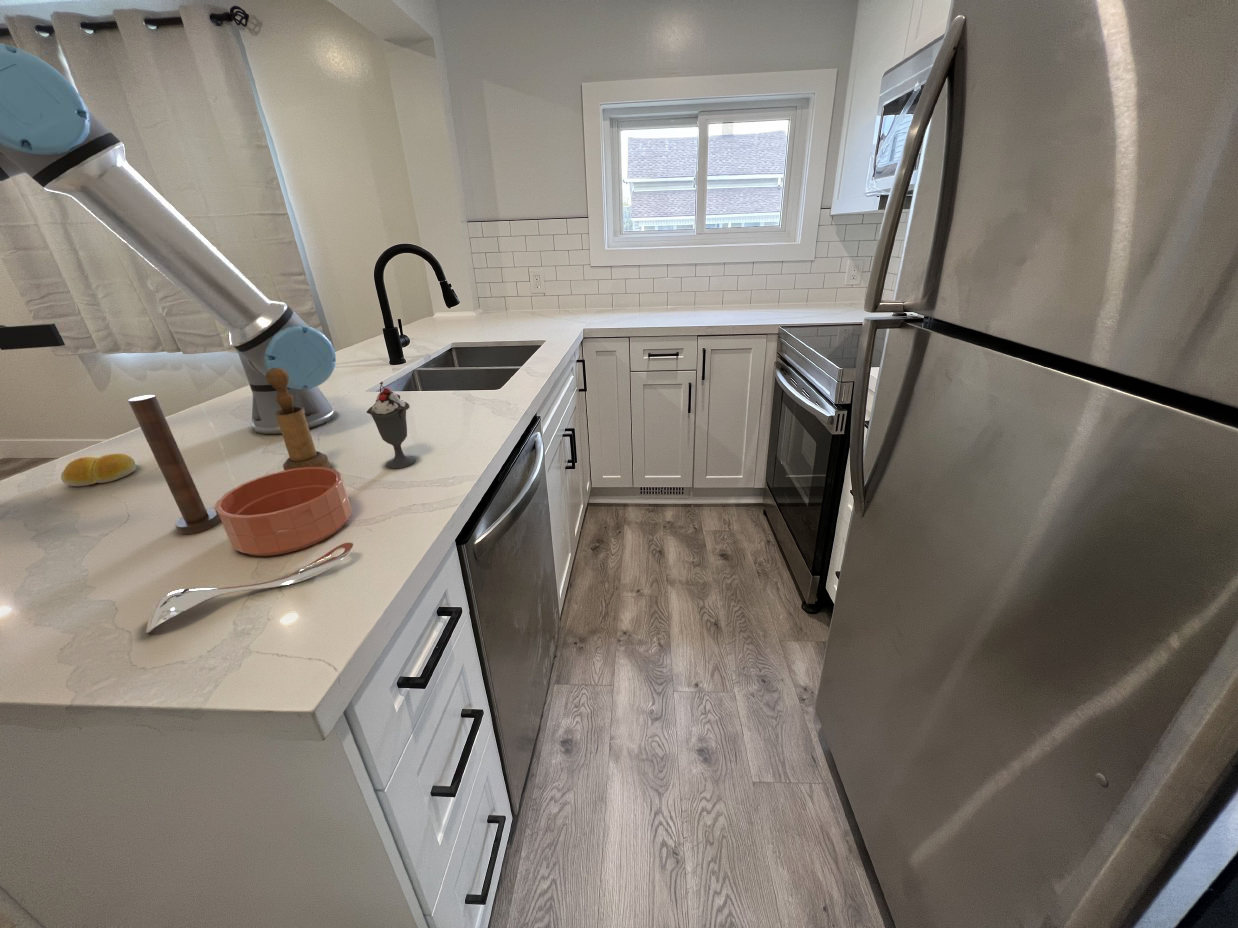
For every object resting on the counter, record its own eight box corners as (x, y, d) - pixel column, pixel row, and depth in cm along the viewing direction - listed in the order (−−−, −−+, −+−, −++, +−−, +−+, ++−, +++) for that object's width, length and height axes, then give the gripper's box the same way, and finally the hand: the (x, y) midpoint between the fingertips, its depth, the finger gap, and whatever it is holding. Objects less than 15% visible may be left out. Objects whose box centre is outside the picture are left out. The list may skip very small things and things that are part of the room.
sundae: (397, 474, 83) (375, 386, 76) (372, 466, 86) (349, 381, 80) (429, 459, 88) (411, 376, 81) (405, 452, 91) (386, 372, 85)
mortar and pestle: (310, 482, 81) (274, 374, 74) (277, 480, 82) (238, 373, 75) (339, 465, 87) (308, 363, 79) (307, 463, 88) (274, 363, 81)
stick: (191, 518, 72) (133, 394, 64) (227, 514, 72) (174, 390, 64) (170, 536, 67) (105, 405, 59) (209, 531, 68) (150, 401, 60)
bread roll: (130, 479, 85) (119, 458, 83) (60, 492, 81) (47, 470, 80) (145, 462, 92) (136, 442, 90) (81, 473, 88) (70, 452, 86)
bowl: (262, 509, 73) (248, 473, 71) (364, 497, 75) (354, 462, 73) (209, 566, 60) (189, 524, 58) (334, 550, 63) (320, 508, 60)
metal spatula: (344, 522, 61) (351, 538, 57) (354, 545, 63) (361, 563, 59) (135, 597, 51) (128, 623, 48) (153, 623, 53) (148, 650, 49)
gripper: (-76, 367, 67) (104, 355, 70) (-373, 432, 44) (-88, 409, 48) (-113, 309, 64) (78, 299, 67) (-452, 348, 41) (-142, 329, 45)
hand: (9, 345), depth 57 cm, fingers open, 13 cm apart
